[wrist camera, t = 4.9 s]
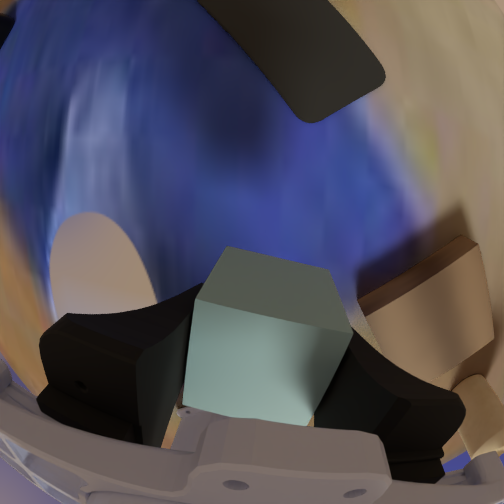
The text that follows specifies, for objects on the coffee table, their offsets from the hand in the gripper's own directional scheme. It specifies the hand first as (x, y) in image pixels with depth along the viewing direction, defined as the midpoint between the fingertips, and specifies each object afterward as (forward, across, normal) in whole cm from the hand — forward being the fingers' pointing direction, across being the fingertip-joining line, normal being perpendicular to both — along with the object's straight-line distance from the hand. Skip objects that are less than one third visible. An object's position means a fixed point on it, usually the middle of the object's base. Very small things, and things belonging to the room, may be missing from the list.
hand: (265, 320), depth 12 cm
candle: (+9, -25, +11) cm, 29 cm away
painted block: (+1, 0, 0) cm, 1 cm away
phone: (+10, +3, -16) cm, 19 cm away
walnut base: (+9, -14, +2) cm, 17 cm away
